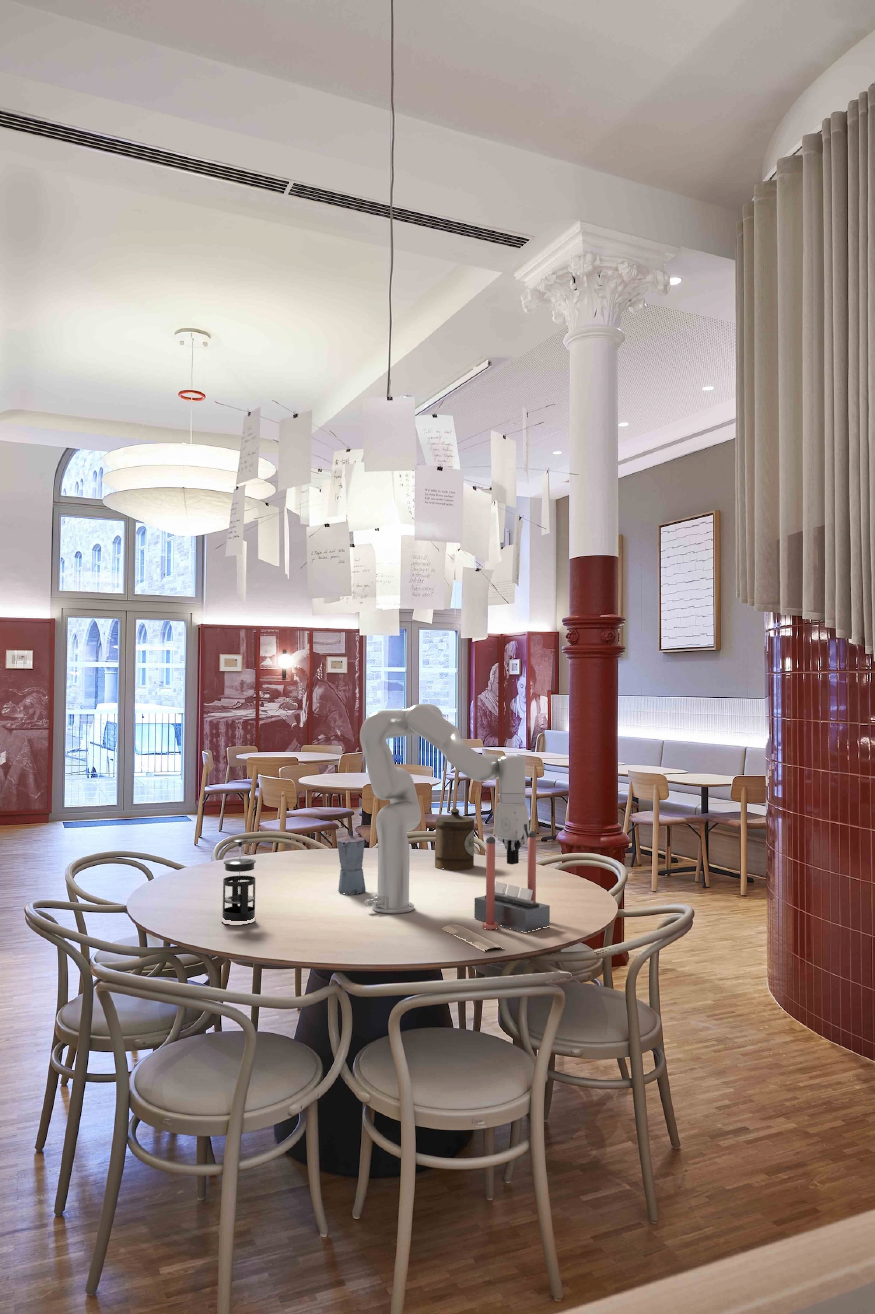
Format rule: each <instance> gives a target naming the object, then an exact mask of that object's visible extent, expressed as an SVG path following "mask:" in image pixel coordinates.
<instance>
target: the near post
mask: <svg viewBox="0 0 875 1314" xmlns="http://www.w3.org/2000/svg"><path fill="white" fill-rule="evenodd" d="M485 842H486V843H485V844H486V859H485V861H486V864H485V865H486V866H485V867H486V869H485V871H486V873H485V879H486V881H485V882H486V883H485V889H486V890H485V895H486V922H484V921H482V923H481V924H482V926H481V927H483V928H486V929H490V930H489V931H493V930H492V929H496V928H498V929H499V926H498V923H496V922H495V885H496V881H495V880H496V838H495V837H494V836H491V835H490V836H488V837H486V840H485ZM483 928H482V929H483Z"/></svg>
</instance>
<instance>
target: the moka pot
mask: <svg viewBox="0 0 875 1314" xmlns="http://www.w3.org/2000/svg"><path fill="white" fill-rule="evenodd" d="M353 834H354V831H352V830H349V831H348V836H344V837H340V838H338V839H337V840H336V841H337V850H338V851H337V852H338V857H339V858H338V859H339V863H340V872H339V882H338V888H337V889H338V890H337V891H338V893H339V892H340V893H339V894H341V893H345V894H344V895H346V894H354V895H359V893H360V894H362V893H364V892H366V890H367V889H366V883H365V878H364V869H363V861H364V851H365V844H366V843H365V840H366V839H365V837H362V835H361V833H360V832H358V833H357V834H356V835H353Z"/></svg>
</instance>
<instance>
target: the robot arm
mask: <svg viewBox="0 0 875 1314" xmlns="http://www.w3.org/2000/svg"><path fill="white" fill-rule="evenodd" d="M360 727H361V728H360V730H359V731H360V732H359V742H360V746H361V749H362V753H363V756H364V761H365V765H366V769H367V773H368V777H369V781H370V787H371V790H372V793H373V795H374V796H375V797H376V798H377V800H381V801H388V800H389V802H390V803H388V804H385V806H383V807H381V809H380V810H379V811H378V813H377V814H376V817H375V829H376V835H377V893H375V894H374V896H373V897H372V898H368V899H364V901H363V902H364V906H365V907H370V906H372V910H373V911H374V912H378V913H382V914H404V913H408V912H411V911H413V910H414V909H415V904H414V903H412V902H410V843H409V839H408V834H407V832H408V833H409V832H411V831H413V830H415V829H417V827H418V826H419V825H420V824H421V823H420V822H421V820H422V811H421V807H420V802H419V797H418V795H417V794H418V793H417V791H416V786H415V782H414V779H413V777H412V775H411V773H410V772H409V771H408V770H407V769H405V768H403V767H400V766H396V764H395V760H394V757H393V756H394V755H393V753H392V750H391V748H390V746H389V745H388V741H387V739H388V738H389V739H390V738H391V739H392V738H401V737H408V736H412V735H413V736H414V735H418V736H419V737H421V738H422V739H423V740H425V741H426V742H427V743H429V744H430V745H431V746H434V747H435V748H436V749H437V750H438V751H439V752H440V753H442V755H443V757H444V758H445V759H446V760H447V761H448V762H449V764H451V765H452V766H453V767H454V768H455V769H457V770H458V771H459V772H460V773H462V774H463V775H465V776H466V777H467V778H469V779H470V780H472V781H474V782H478V783H482V782H487V781H493V780H498V792H499V793H498V794H497V798H498V802H497V804H496V808H495V814H494V836H495V837H496V838H497V840H498V841H499V842H501V843H503V845H504V849H505V851H506V863H507V864H508V865H517V864H519V861H520V860H519V855H520V853H519V850H521V847H522V846H524V845H528V837H529V831H530V819H529V818H530V817H529V810H528V805H527V803H526V760H525V758H524V757H523V756H522V755H499V754H494V753H493V754H491V753H488V754H480V753H478V752H477V751H476V750H475V749H473V748H471V747H470V746H469V745H468V744H466V743H465V741H463V739H462V737H461V735H460V734H461V732H460V730H459V728H458V727H457V726H455V725H454V724H452V723H451V722H449V720H447V719H445V718H444V715H443V713H442V710H441V709H440V708H439V707H438V706H436V705H434V704H431V703H420V704H419V703H418V704H414V705H412V706H411V707H410V708H409V707H408V708H405V709H403V708H402V709H397V710H396V709H395V710H393V709H392V710H391V709H389V710H388V709H386V710H385V709H383V710H378V711H374V712H373V713H371V714H370V715H369V716H367V718H365V720H364V722H362V725H361V726H360Z"/></svg>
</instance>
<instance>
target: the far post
mask: <svg viewBox="0 0 875 1314" xmlns="http://www.w3.org/2000/svg"><path fill="white" fill-rule="evenodd" d="M527 841H528V844H527V889H530V890H533V893H532V897H531V900H532V901H533V902H537V883H536V882H537V873H536V872H537V833H536V831H535V830H529V837H528V838H527Z"/></svg>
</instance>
